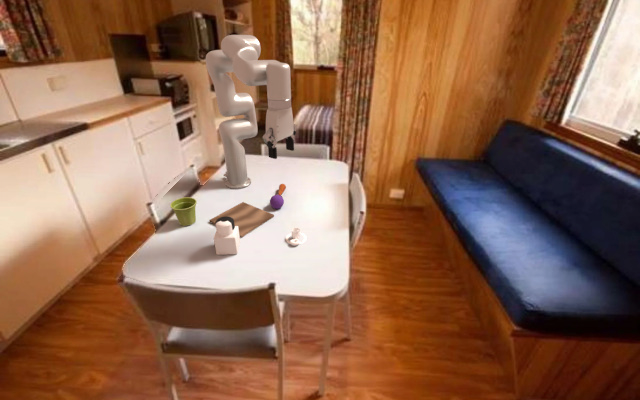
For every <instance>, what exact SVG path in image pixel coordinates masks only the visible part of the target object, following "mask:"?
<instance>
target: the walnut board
mask: <svg viewBox="0 0 640 400" xmlns="http://www.w3.org/2000/svg"><path fill="white" fill-rule="evenodd" d="M225 216H228V217H231V218H233V219H234V225H235V226H238V228H239V236H240V239H241V238H244V237H245V236H247V235H248V234H250V233H252V232H253V231H254V230H255V229H257V228H260V227H261V226H262V225H263V224H265V223H267V222H269V220H271V219H273V218H274V217H275V215H274V214H273V213H271V212H268V211H266V210H264V209H261V208H259V207H256V206H254V205H253V204H252V205H251V204H249V203H246V202H244V201H243V202H240V203H238V204H236V205H235V206H233V207H231V208H229V209H227V210H225V211H223V212H221V213H220V214H218V215H216V216H214V217H212V218H210V219H209V223H211V224H213V225H215V222H216V220H217V219H218V218H221V217H225Z"/></svg>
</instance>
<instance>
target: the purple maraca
mask: <svg viewBox="0 0 640 400" xmlns="http://www.w3.org/2000/svg"><path fill="white" fill-rule="evenodd" d="M286 189H287V186H286V184H285V183H280V184H279V185H278V192H277V193H278V194H274V195H272V196H271V198H269V204H270V206H271V207H272V208H273V209H277V210H278V209H281V208H282V207H283V206H284V203H285V200H284V198H283V196H282V194H283V193H284V192H285V190H286Z"/></svg>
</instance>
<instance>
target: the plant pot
mask: <svg viewBox="0 0 640 400" xmlns="http://www.w3.org/2000/svg"><path fill="white" fill-rule="evenodd" d="M197 201H198V200H197V199H196V198H194V197H191V196H190V197H188V196H187V197H180V198H177V199H175V200H173V201H172V202H171V203H170V205H169V206H170V208H171V209H172V211H173V212H174V214H175V216H176V219H177V221H178V223H179V225H180V226H183V227H187V226H192V225H194V224H195V223H196V221H197V218H196V207H197V204H198V203H197Z"/></svg>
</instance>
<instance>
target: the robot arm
mask: <svg viewBox="0 0 640 400" xmlns="http://www.w3.org/2000/svg"><path fill="white" fill-rule="evenodd" d="M220 48H221V49H215V50H211V51H208V53H207V54H206V56H205V66H206V70H207V73H208V74H209V76H210V78H211V79H210V80H211V81H212V84H213V87H214V92H215V93H214V94H215V98H216V103H217V108H218V112H219V114H220V115H221V116H222V117H229V118H230V117H236V116H243V117H240V118H232V119H226V120H223V121H221V122H220V123H219V125H218V132H219V135H220V138H221V139H220V140H221V142H222V148H223V154H224V160H225V162H224V163H225V169H226V171H225V173H223V177H225V178H226V180H225V181H224V185H225V187H226V188H228V189H233V190H234V189H235V190H236V189H237V190H238V189H244V188H247V187H249V186H250V185H251V183H252V179H251V178H250V177H248V169H247V159H246V151H245V147H244V146H243V145H242V144H241V143H240V142H239V141H240V140H241V141H242V140H245V139H251V138H252V139H253V138H254V137H256V136H257V135H258V121H257V113H256V108H255V103H254V102H255V101H254V99H253V97H252V96H251V95H250V94H249V93H248V92H236V86H235V82H234V80H233V78H232V77H231V76H230V75H229V74H228V73H234V75H235V77H236V78H237V80H239V81H240V82H241V83H243V84H244V85H246V86H249V87H256V86H266V92H267V95H266V96H267V109H266V115H265V133H264V134H263V136H262V139H263V142H264V144H265V145H266V147H267V148H268V149H267V150H268V158H270V159H274V160H277V159H278V151H277V150H278V149H277V143H278V142H279V141H282V140H284V139H285V150H286V151H287V150H288V151H291V152H292V151H295V139H296V134H297V129H298V125H297V124H295V123H294V116H293V108H292V89H291V88H292V86H291V82H292V81H291V67H290V65H289V64H288V63H286V62H280V61H279V60H276V59H259V58H260V56H261V50H262V48H261V43H260V41H259V40H258V38H257V37H256V36H254V35H251V34H231V35H230V34H228V35H226V36H225V37H224V38H222V40H221V43H220ZM258 59H259V60H258Z"/></svg>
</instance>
